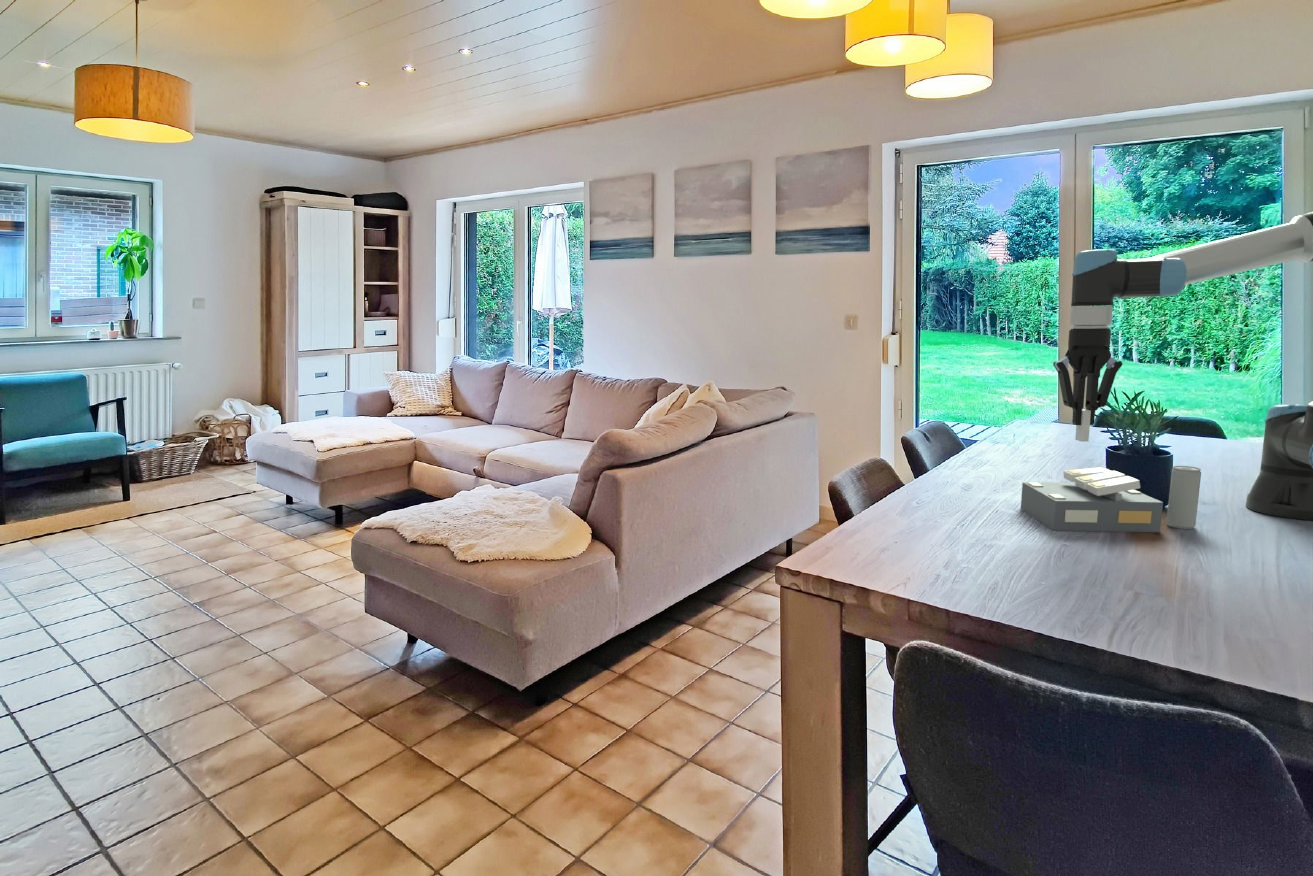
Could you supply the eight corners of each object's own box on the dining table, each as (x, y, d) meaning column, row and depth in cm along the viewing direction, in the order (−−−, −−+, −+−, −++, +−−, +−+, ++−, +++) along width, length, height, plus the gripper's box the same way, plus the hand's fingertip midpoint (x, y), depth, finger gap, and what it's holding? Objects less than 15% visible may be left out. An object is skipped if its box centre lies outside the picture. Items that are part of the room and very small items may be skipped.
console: (1116, 510, 164) (1119, 476, 163) (1160, 532, 147) (1164, 495, 146) (1020, 508, 166) (1022, 475, 165) (1053, 530, 149) (1056, 494, 148)
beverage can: (1199, 530, 149) (1206, 470, 147) (1172, 529, 150) (1178, 470, 148) (1188, 523, 153) (1194, 466, 151) (1161, 522, 154) (1167, 465, 152)
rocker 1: (1102, 474, 162) (1102, 466, 162) (1112, 478, 158) (1112, 470, 158) (1063, 477, 163) (1063, 469, 163) (1072, 482, 159) (1072, 473, 159)
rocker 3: (1129, 483, 152) (1127, 475, 151) (1140, 488, 148) (1139, 479, 147) (1087, 491, 153) (1086, 482, 152) (1097, 495, 149) (1096, 487, 148)
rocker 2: (1115, 477, 157) (1114, 469, 157) (1126, 482, 153) (1124, 473, 153) (1075, 485, 158) (1074, 477, 158) (1084, 489, 154) (1083, 481, 154)
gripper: (1114, 326, 158) (1105, 437, 162) (1049, 327, 159) (1042, 437, 163) (1133, 327, 151) (1123, 443, 154) (1064, 328, 152) (1056, 443, 156)
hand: (1081, 440), depth 159 cm, fingers closed
